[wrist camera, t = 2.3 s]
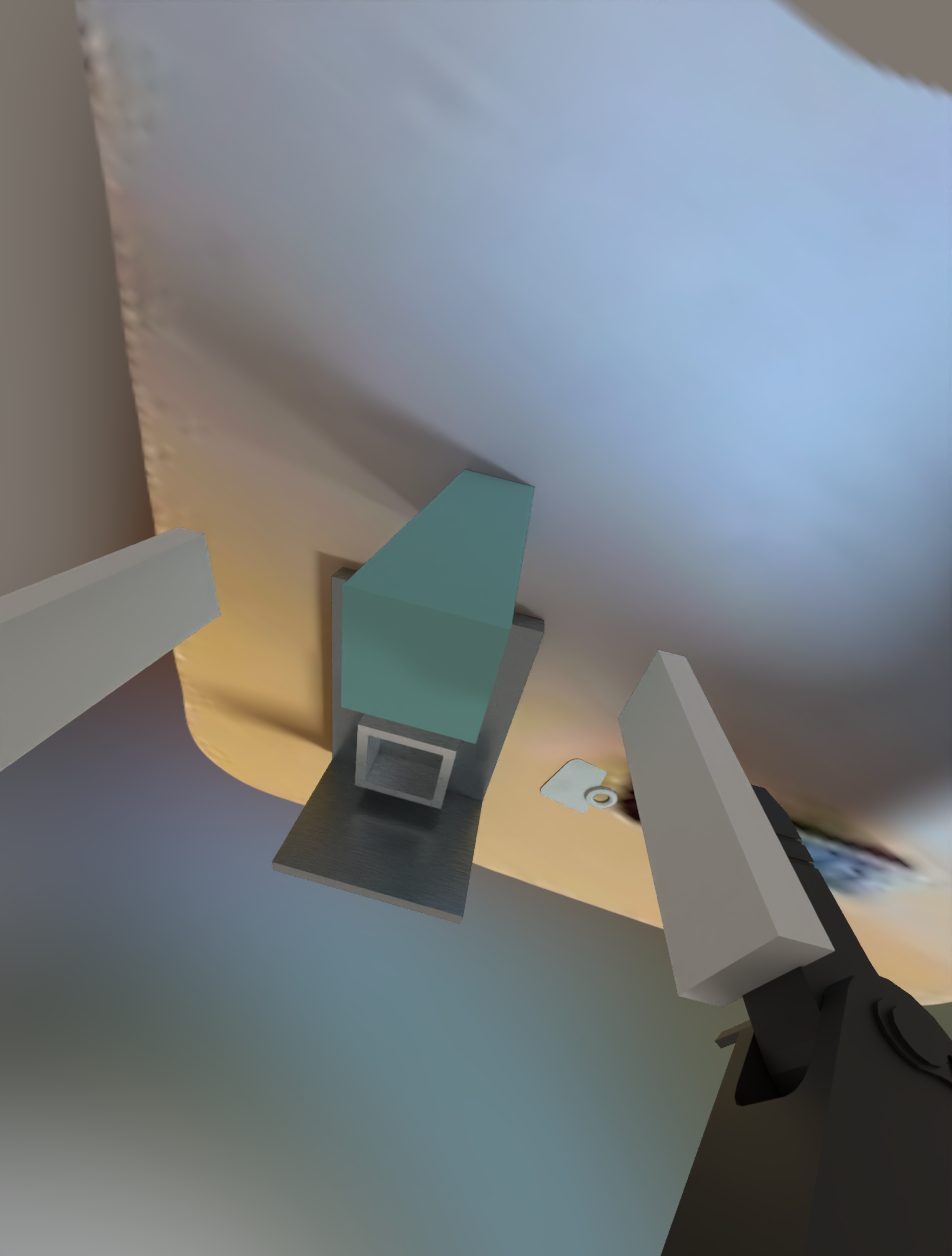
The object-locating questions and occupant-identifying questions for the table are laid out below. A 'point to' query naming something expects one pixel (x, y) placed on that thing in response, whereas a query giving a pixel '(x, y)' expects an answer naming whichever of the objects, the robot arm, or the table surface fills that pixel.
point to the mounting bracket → (578, 786)
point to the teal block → (437, 609)
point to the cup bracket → (404, 793)
